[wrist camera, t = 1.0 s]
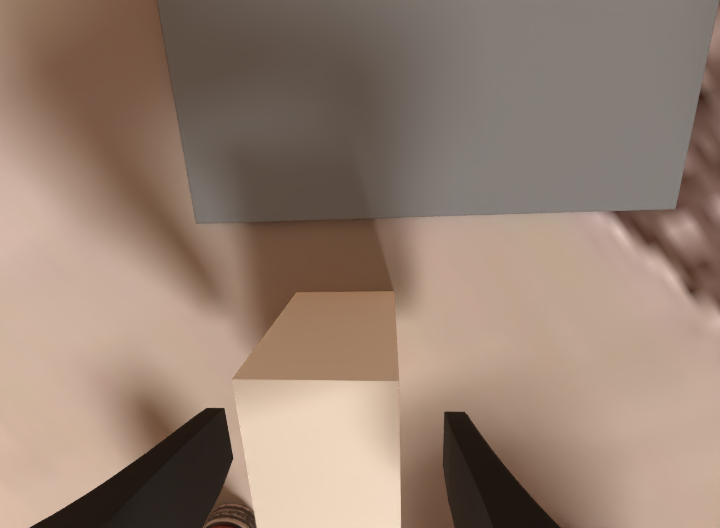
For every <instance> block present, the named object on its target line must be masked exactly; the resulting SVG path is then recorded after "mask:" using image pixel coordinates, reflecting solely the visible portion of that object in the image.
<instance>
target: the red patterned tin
mask: <svg viewBox="0 0 720 528" xmlns="http://www.w3.org/2000/svg"><path fill="white" fill-rule="evenodd" d="M204 528H257V526H256V520H255V514H254V513H253V511H252V510H250V509H248V508H247V507H245V506H242V505H238V504H224V505H220V506H218V507H217V508H215V509H214V510H213V511H212V513H211V515H210V516H209V518H208V520H207V522H206V524H205V526H204Z"/></svg>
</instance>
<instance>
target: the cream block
mask: <svg viewBox="0 0 720 528" xmlns="http://www.w3.org/2000/svg"><path fill="white" fill-rule="evenodd" d="M232 383H233V389H234V395H235V401H236V407H237V413H238V419H239V425H240V431H241V437H242V443H243V449H244V455H245V461H246V467H247V473H248V479H249V485H250V491H251V497H252V503H253V509H254V514H255V520H256V526H257V528H401V492H400V411H399V370H398V352H397V334H396V316H395V298H394V291H360V292H296V293H295V295H294V296H293V297H292V299H291V300H290V301H289V303H288V304H287V305H286V307H285V308H284V309H283V311H282V312H281V314H280V315H279V316H278V318H277V319H276V320H275V322H274V323H273V324H272V326H271V327H270V328H269V330H268V331H267V333H266V334H265V335H264V337H263V338H262V339H261V341H260V342H259V343H258V345H257V346H256V347H255V349H254V350H253V351H252V353H251V354H250V356H249V357H248V358H247V360H246V361H245V362H244V364H243V365H242V366H241V368H240V369H239V370H238V372H237V373H236V375H235V376H234V377H233V379H232Z"/></svg>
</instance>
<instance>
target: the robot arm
mask: <svg viewBox="0 0 720 528" xmlns="http://www.w3.org/2000/svg"><path fill="white" fill-rule="evenodd" d="M232 460H233V454H232V448H231V443H230V437H229V432H228V426H227V420H226V415H225V409H224V408H206V409H205V410H203V411H202V412H200V413H199V414H198V415H196V416H195V417H193V418H192V419H191V420H189V421H188V422H187V423H185V424H184V425H183V426H181V427H180V428H179V429H178V430H176V431H175V432H174V433H172V434H171V435H170V436H168V437H167V438H166V439H164V440H163V441H162V442H160V443H159V444H158V445H156V446H155V447H154V448H152V449H151V450H150V451H148V452H147V453H146V454H144V455H143V456H141V457H140V458H139V459H137V460H136V461H134V462H133V463H131V464H130V465H129V466H127V467H126V468H124V469H123V470H121V471H120V472H119V473H117V474H116V475H114V476H113V477H112V478H110V479H109V480H107V481H106V482H104V483H103V484H101V485H100V486H98V487H97V488H95V489H94V490H92V491H90V492H89V493H87V494H86V495H84V496H83V497H81V498H79V499H78V500H76V501H75V502H73V503H71V504H70V505H68V506H66V507H65V508H63V509H62V510H60V511H58V512H56V513H55V514H53V515H51V516H50V517H48V518H46V519H44V520H42V521H41V522H39V523H37V524H35V525H33V526H32V527H30V528H202V527H203V525H204V523H205V521H206V519H207V517H208V515H209V513H210V512H211V510H212V508H213V506H214V504H215V502H216V500H217V498H218V496H219V494H220V492H221V489H222V487H223V484H224V482H225V479H226V477H227V474H228V471H229V468H230V466H231V463H232ZM443 468H444V475H445V482H446V489H447V495H448V501H449V505H450V509H451V513H452V518H453V522H454V526H455V528H560V527H559V526H558V525H557V524H556V523H555V522H554V521H553V520H552V519H551V518H550V516H549V515H548V514H547V513H546V512H545V511H544V510H543V509H542V508H541V507H540V506H539V505H538V504H537V503H536V502H535V500H534V499H533V498H532V497H531V496H530V495H529V494H528V493H527V491H526V490H525V489H524V488H523V487H522V486H521V485H520V483H519V482H518V481H517V480H516V479H515V478H514V476H513V475H512V474H511V473H510V472H509V470H508V469H507V468H506V467H505V465H504V464H503V463H502V462H501V460H500V459H499V458H498V457H497V455H496V454H495V453H494V451H493V450H492V449H491V448H490V446H489V445H488V444H487V442H486V441H485V439H484V438H483V437H482V435H481V434H480V433H479V431H478V430H477V428H476V427H475V425H474V424H473V422H472V421H471V420H470V418H469V416H468V415H467V414H466V413H465V412H444V444H443Z"/></svg>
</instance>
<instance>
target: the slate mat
mask: <svg viewBox="0 0 720 528" xmlns="http://www.w3.org/2000/svg"><path fill="white" fill-rule="evenodd" d="M157 4H158V9H159V15H160V21H161V26H162V32H163V38H164V44H165V49H166V55H167V61H168V66H169V72H170V78H171V83H172V89H173V95H174V101H175V106H176V112H177V118H178V123H179V129H180V135H181V140H182V146H183V152H184V158H185V163H186V169H187V175H188V180H189V186H190V192H191V197H192V203H193V209H194V215H195V220H196V224H208V223H240V222H272V221H304V220H336V219H369V218H401V217H433V216H465V215H497V214H529V213H562V212H594V211H626V210H658V209H675V208H676V203H677V199H678V194H679V189H680V184H681V180H682V175H683V170H684V165H685V161H686V156H687V151H688V146H689V142H690V137H691V132H692V127H693V123H694V118H695V113H696V108H697V104H698V99H699V94H700V89H701V85H702V80H703V75H704V71H705V66H706V61H707V56H708V52H709V47H710V42H711V37H712V33H713V28H714V23H715V18H716V14H717V9H718V4H719V0H157Z"/></svg>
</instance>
